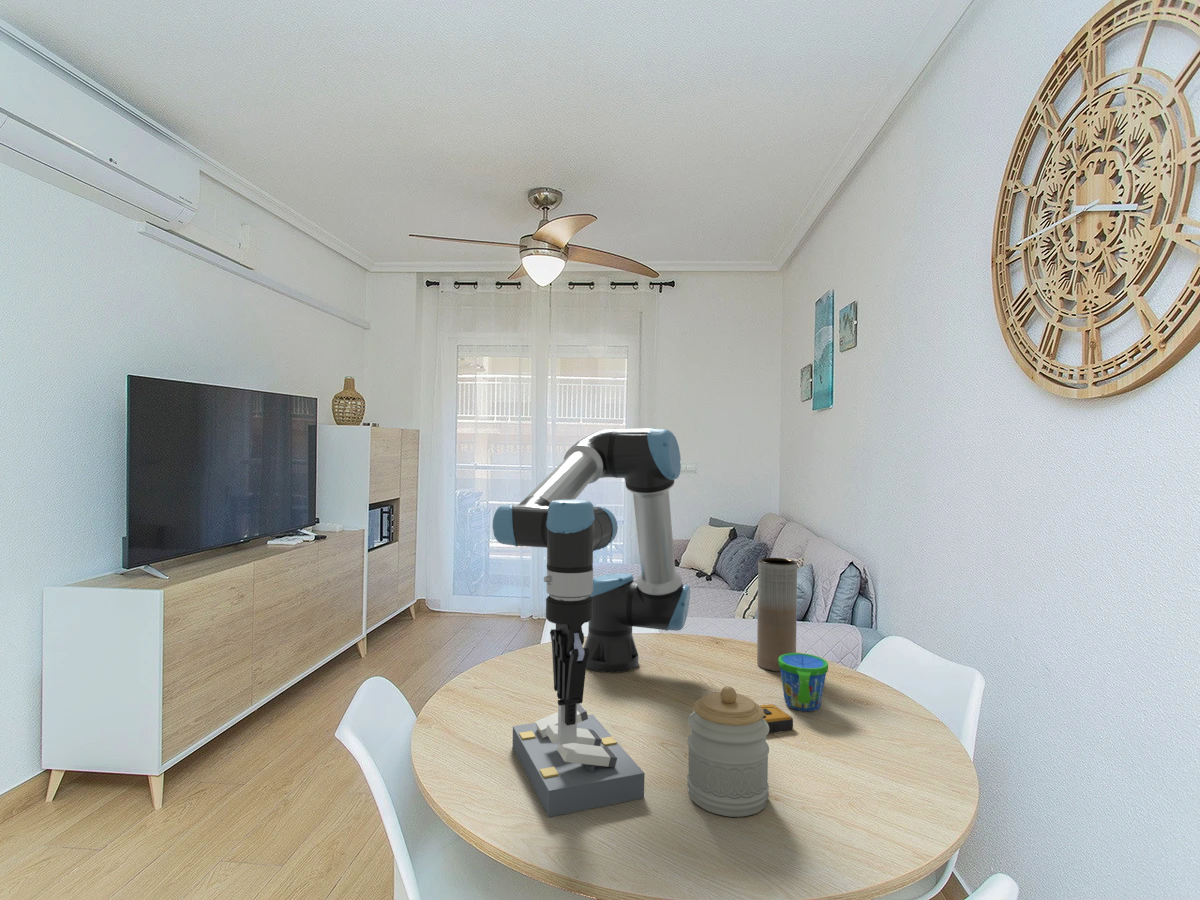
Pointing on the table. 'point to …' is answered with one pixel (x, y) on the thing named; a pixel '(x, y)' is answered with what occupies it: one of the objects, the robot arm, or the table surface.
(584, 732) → the rocker mid
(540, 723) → the rocker far
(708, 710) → the jar
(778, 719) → the electronic device
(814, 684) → the snack cup
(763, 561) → the vase
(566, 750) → the rocker near
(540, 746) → the switch unit
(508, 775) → the table surface
